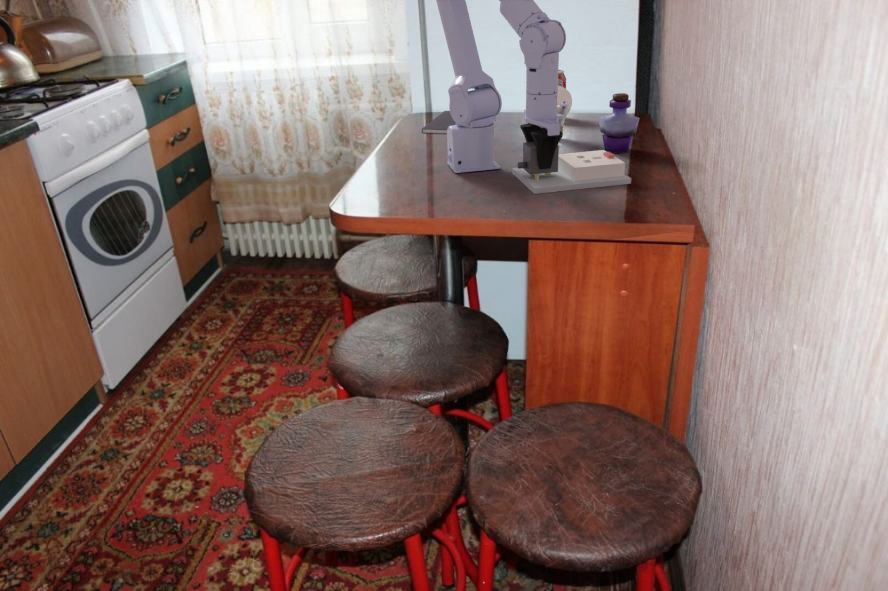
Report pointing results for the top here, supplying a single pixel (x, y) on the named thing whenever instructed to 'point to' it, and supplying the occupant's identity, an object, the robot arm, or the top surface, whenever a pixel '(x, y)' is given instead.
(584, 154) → the socket plate
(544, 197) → the top surface
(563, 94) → the light bulb
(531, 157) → the plug
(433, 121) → the notebook
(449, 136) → the robot arm
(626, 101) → the potion bottle
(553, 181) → the socket mat
